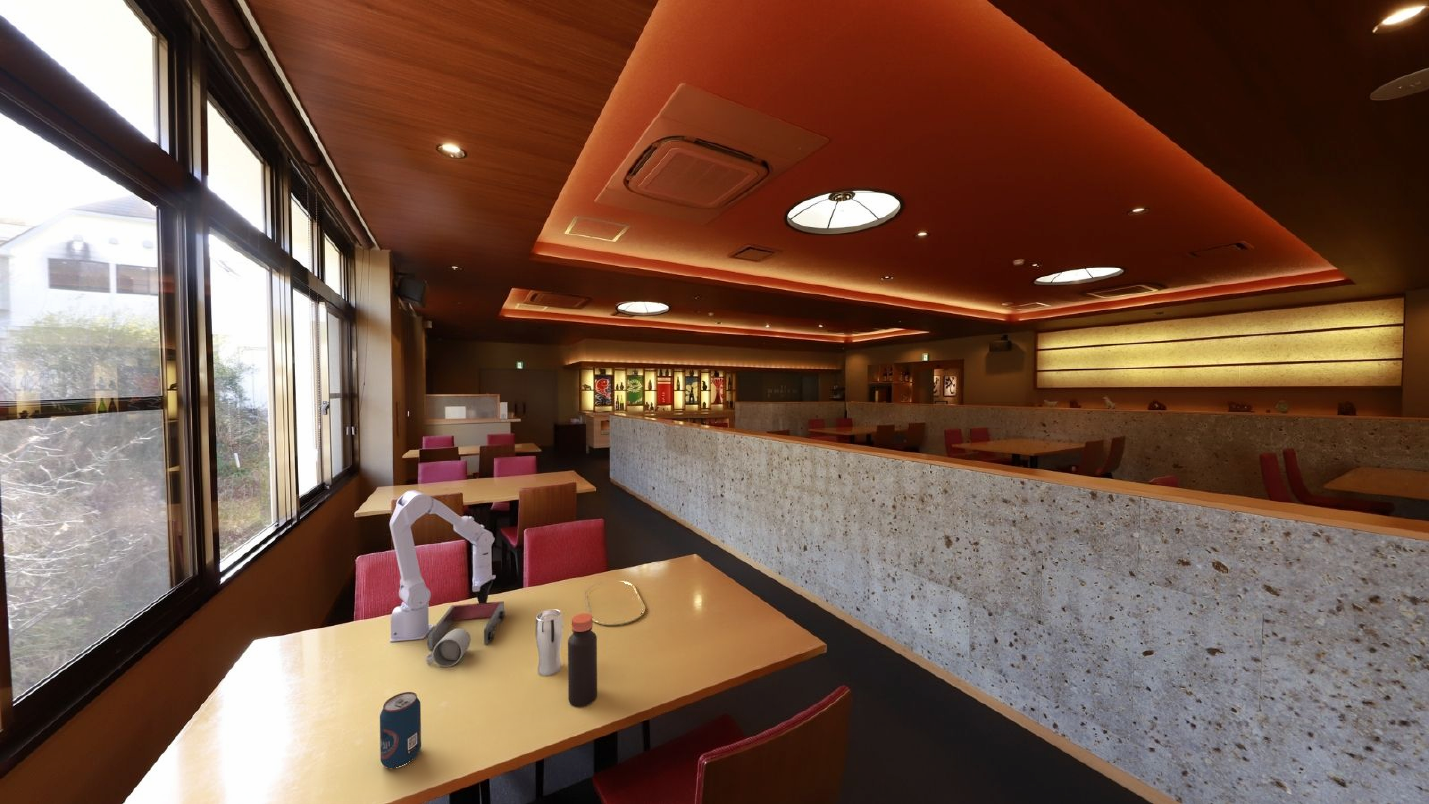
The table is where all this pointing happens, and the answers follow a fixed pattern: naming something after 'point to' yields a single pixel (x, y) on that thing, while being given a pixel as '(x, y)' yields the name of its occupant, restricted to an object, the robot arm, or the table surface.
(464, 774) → the table surface
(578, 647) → the bottle
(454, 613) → the grey u-frame
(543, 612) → the beer glass
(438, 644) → the ceramic mug
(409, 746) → the soda can
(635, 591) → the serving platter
